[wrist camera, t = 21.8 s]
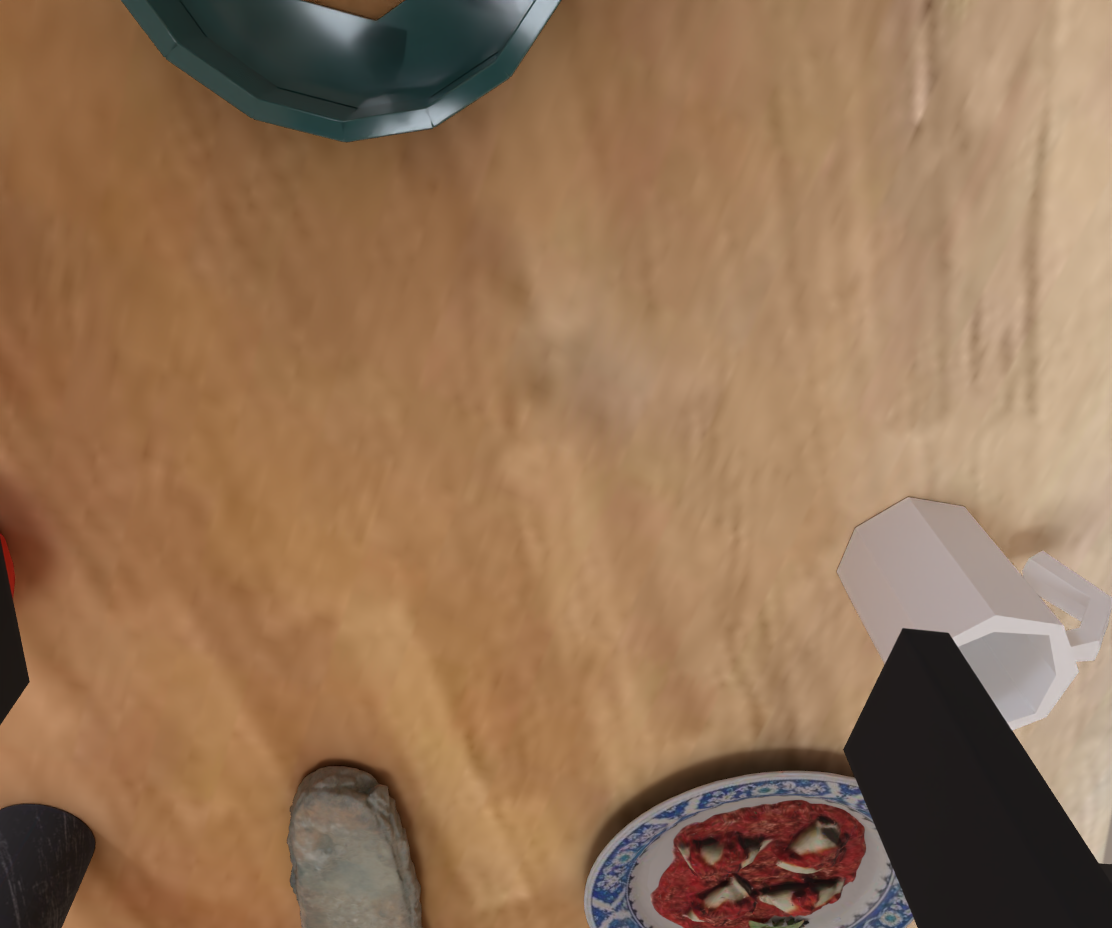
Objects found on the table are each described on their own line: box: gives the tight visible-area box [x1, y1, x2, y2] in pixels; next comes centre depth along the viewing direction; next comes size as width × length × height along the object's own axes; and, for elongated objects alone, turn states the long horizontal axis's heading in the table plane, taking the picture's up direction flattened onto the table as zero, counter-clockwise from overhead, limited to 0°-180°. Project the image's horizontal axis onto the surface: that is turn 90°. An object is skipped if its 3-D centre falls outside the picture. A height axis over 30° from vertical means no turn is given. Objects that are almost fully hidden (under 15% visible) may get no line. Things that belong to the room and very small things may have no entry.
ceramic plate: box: [584, 771, 914, 928], centre depth 62 cm, size 26×26×3 cm
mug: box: [837, 497, 1112, 731], centre depth 44 cm, size 12×9×10 cm
